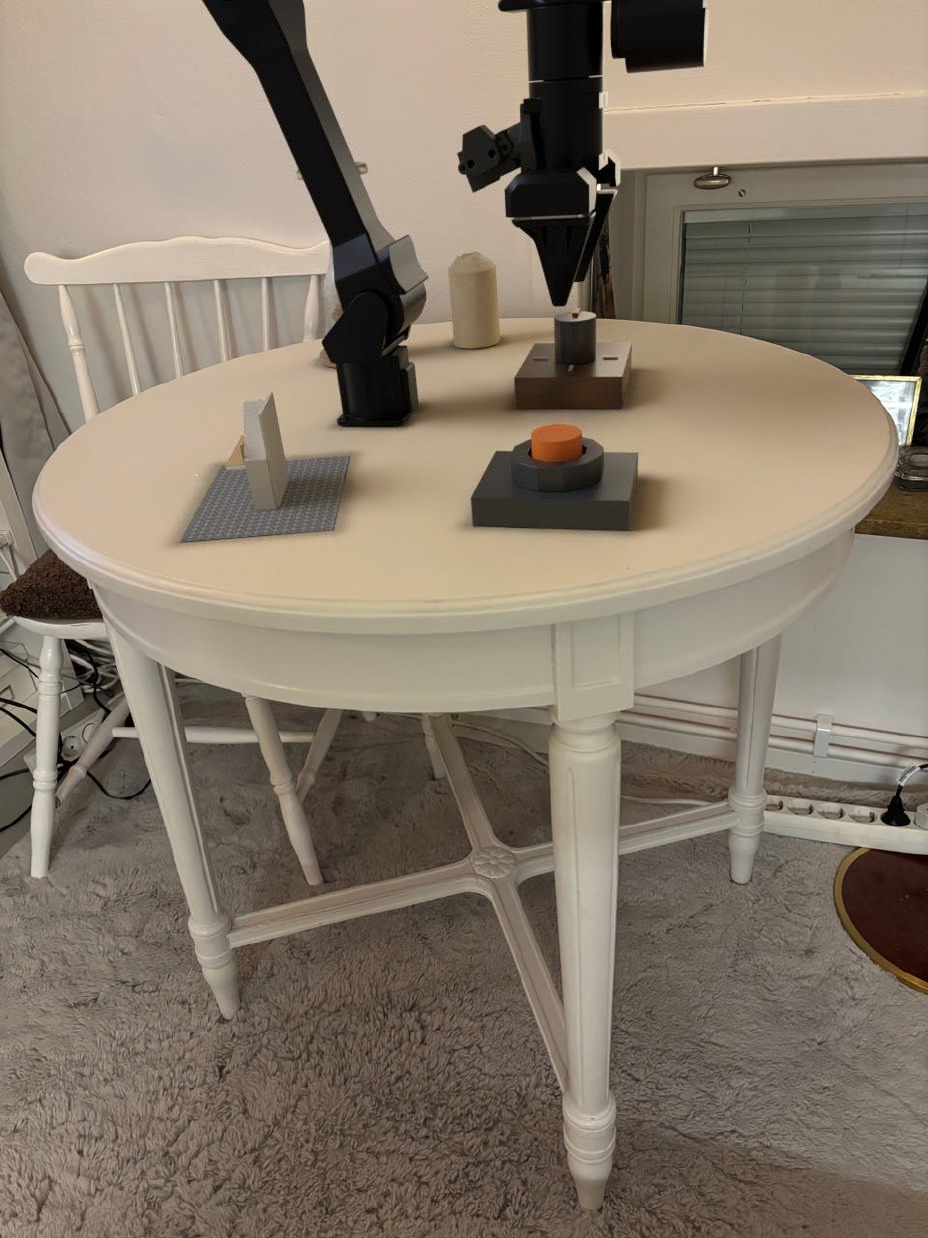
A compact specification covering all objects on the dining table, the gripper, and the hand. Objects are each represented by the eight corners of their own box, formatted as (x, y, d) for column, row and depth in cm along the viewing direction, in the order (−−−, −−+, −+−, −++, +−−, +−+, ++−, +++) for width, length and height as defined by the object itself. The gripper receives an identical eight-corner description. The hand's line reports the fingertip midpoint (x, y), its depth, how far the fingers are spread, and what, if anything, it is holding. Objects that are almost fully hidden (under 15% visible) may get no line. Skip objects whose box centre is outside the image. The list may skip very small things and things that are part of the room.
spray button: (528, 464, 64) (527, 441, 63) (536, 446, 67) (535, 423, 66) (579, 465, 63) (578, 441, 62) (585, 446, 66) (584, 423, 65)
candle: (500, 347, 105) (495, 256, 100) (453, 350, 105) (446, 259, 100) (499, 335, 110) (494, 247, 105) (454, 338, 110) (447, 251, 105)
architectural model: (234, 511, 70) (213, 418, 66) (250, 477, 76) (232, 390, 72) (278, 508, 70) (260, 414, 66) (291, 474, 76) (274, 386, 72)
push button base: (472, 525, 64) (468, 473, 62) (497, 476, 72) (494, 428, 70) (628, 530, 62) (630, 476, 60) (637, 479, 69) (638, 429, 67)
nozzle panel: (515, 408, 86) (513, 375, 84) (535, 371, 96) (534, 341, 94) (621, 408, 83) (622, 374, 82) (631, 370, 93) (631, 339, 92)
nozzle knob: (593, 363, 86) (593, 317, 84) (551, 364, 87) (550, 318, 85) (598, 352, 89) (598, 307, 87) (558, 352, 90) (557, 308, 88)
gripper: (492, 83, 78) (502, 273, 86) (428, 92, 63) (447, 321, 71) (622, 72, 75) (619, 269, 83) (587, 79, 60) (588, 320, 68)
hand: (569, 293), depth 76 cm, fingers open, 9 cm apart
